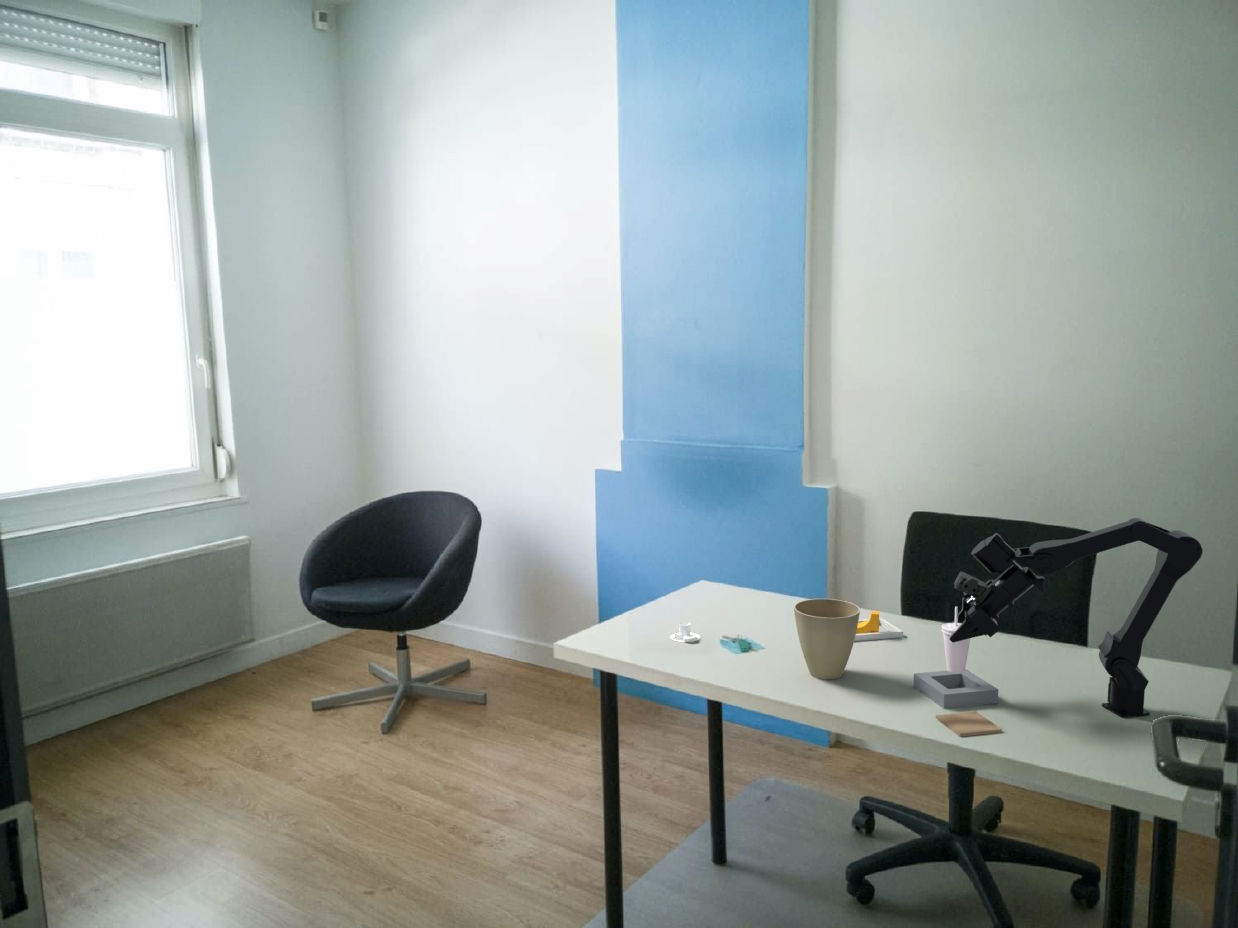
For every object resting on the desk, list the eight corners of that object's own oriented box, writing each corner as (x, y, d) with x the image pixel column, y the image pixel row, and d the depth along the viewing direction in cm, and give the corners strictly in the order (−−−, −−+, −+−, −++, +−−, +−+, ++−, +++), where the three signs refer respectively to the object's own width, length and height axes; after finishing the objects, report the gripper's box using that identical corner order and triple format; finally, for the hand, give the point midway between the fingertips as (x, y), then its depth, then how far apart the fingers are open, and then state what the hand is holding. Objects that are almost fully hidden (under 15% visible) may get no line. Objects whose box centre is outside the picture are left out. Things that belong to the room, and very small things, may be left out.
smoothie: (964, 664, 201) (965, 602, 199) (977, 674, 195) (978, 611, 193) (935, 665, 201) (937, 603, 199) (947, 676, 194) (948, 612, 193)
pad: (1001, 732, 180) (1001, 729, 180) (960, 736, 178) (960, 733, 178) (975, 714, 188) (975, 711, 188) (935, 718, 187) (935, 715, 187)
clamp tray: (903, 637, 237) (903, 631, 237) (838, 642, 234) (838, 636, 234) (881, 623, 249) (881, 618, 249) (819, 628, 246) (819, 623, 246)
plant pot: (781, 667, 217) (781, 602, 215) (835, 659, 222) (836, 595, 220) (814, 690, 203) (815, 620, 201) (872, 680, 208) (873, 612, 206)
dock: (998, 702, 194) (998, 689, 194) (943, 708, 192) (944, 694, 191) (964, 681, 206) (965, 668, 206) (913, 686, 204) (913, 673, 204)
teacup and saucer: (698, 645, 235) (698, 630, 235) (667, 644, 237) (667, 629, 236) (701, 634, 244) (701, 620, 243) (672, 633, 245) (672, 618, 245)
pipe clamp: (878, 633, 241) (879, 609, 241) (878, 638, 237) (879, 614, 236) (832, 630, 245) (832, 606, 244) (831, 635, 241) (831, 611, 240)
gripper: (975, 551, 202) (922, 597, 207) (981, 571, 185) (923, 621, 189) (1012, 587, 201) (958, 633, 206) (1023, 612, 183) (963, 660, 188)
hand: (950, 635), depth 197 cm, fingers closed on smoothie, 6 cm apart
